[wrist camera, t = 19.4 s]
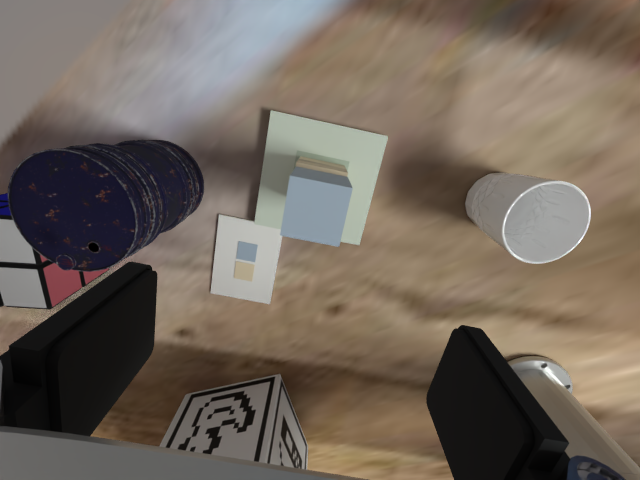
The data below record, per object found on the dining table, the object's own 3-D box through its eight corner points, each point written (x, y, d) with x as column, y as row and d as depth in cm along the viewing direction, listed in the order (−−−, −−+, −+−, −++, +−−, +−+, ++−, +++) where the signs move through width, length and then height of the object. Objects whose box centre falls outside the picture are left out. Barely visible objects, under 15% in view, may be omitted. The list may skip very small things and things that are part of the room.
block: (280, 373, 48) (261, 476, 34) (308, 445, 53) (302, 562, 39) (186, 393, 50) (131, 500, 36) (221, 462, 55) (185, 580, 40)
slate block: (336, 225, 33) (339, 246, 27) (287, 216, 33) (279, 235, 27) (347, 176, 31) (352, 188, 26) (296, 166, 31) (289, 175, 25)
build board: (358, 241, 41) (359, 245, 40) (256, 221, 41) (253, 224, 39) (386, 135, 37) (388, 136, 36) (272, 110, 36) (270, 110, 35)
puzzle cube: (98, 195, 40) (27, 217, 30) (110, 270, 43) (51, 311, 34) (15, 190, 40) (-81, 211, 30) (34, 266, 43) (-47, 305, 34)
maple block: (334, 207, 39) (336, 222, 33) (293, 199, 38) (287, 212, 33) (344, 165, 37) (348, 172, 31) (300, 156, 37) (296, 162, 31)
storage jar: (105, 155, 38) (-70, 180, 21) (181, 126, 37) (59, 126, 20) (148, 232, 41) (24, 307, 24) (218, 207, 40) (141, 267, 23)
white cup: (448, 219, 40) (486, 248, 31) (479, 157, 38) (531, 167, 28) (505, 240, 41) (559, 274, 32) (539, 180, 39) (609, 198, 29)
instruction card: (270, 303, 44) (269, 304, 44) (211, 291, 44) (210, 293, 44) (284, 226, 41) (283, 227, 40) (219, 214, 40) (218, 214, 40)
